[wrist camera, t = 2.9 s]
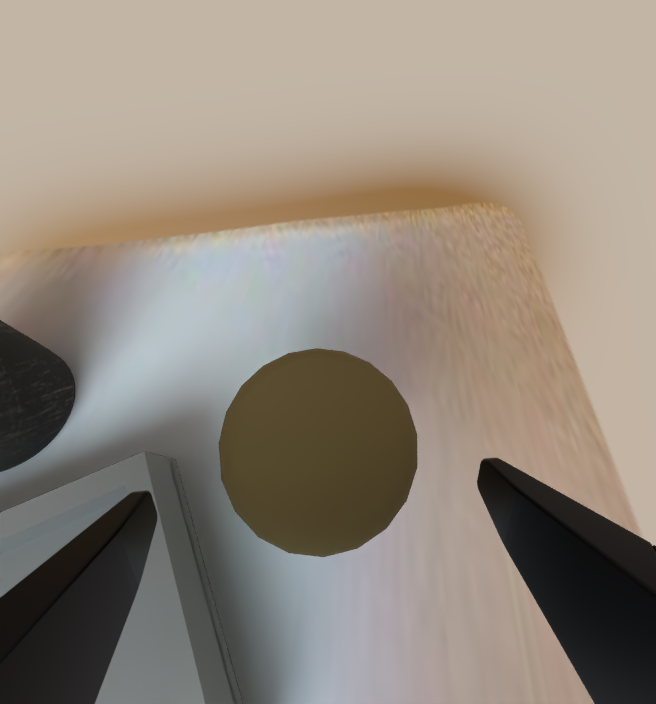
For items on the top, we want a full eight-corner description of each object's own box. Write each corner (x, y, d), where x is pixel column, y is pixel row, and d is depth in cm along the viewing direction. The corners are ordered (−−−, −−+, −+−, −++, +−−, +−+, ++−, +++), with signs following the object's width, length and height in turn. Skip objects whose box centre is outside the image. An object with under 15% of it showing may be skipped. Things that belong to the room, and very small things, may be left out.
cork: (389, 503, 17) (509, 519, 7) (277, 553, 16) (217, 662, 6) (345, 397, 19) (386, 287, 9) (244, 433, 18) (157, 356, 8)
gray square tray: (262, 776, 13) (246, 872, 9) (-142, 1053, 10) (-358, 1321, 7) (175, 459, 17) (143, 451, 14) (-121, 588, 14) (-245, 616, 11)
